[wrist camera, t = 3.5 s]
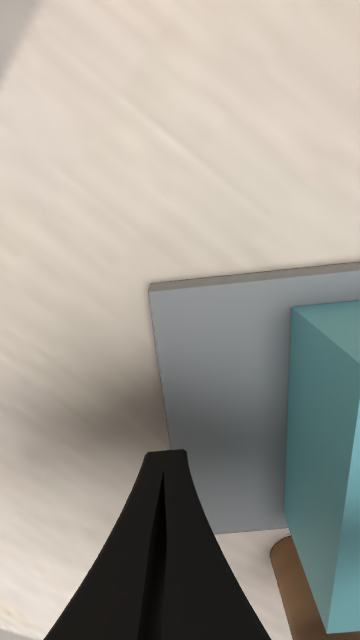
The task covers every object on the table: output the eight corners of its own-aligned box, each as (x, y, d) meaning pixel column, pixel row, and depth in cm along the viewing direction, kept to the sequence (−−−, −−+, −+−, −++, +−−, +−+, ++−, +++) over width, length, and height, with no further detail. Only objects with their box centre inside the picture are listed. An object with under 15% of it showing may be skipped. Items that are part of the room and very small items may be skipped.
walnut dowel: (322, 567, 17) (416, 797, 10) (269, 572, 17) (330, 803, 10) (326, 532, 16) (434, 762, 9) (270, 537, 16) (338, 770, 9)
